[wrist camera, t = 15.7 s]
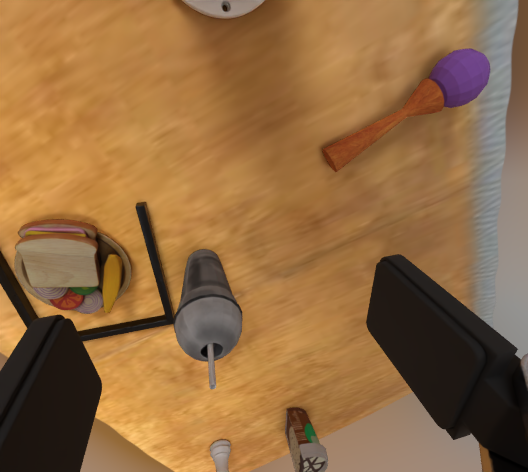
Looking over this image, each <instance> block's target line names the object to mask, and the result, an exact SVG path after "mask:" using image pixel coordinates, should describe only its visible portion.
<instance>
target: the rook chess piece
mask: <svg viewBox="0 0 528 472" xmlns="http://www.w3.org/2000/svg"><path fill="white" fill-rule="evenodd" d="M230 445H231V444H230V443H229V442H228V441H227V440H218V441H216V442H214V443H213V444H212V445H211V447H210V451H211V454H210V455H211V457H212V458H213V461H214V462H215V466H216V472H229V470H228V458H229V454H230V451H231V448H230Z"/></svg>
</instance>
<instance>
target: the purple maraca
mask: <svg viewBox="0 0 528 472" xmlns="http://www.w3.org/2000/svg"><path fill="white" fill-rule="evenodd" d="M489 74H490V63H489V61H488V59H487V57H486V56H485V55H484V54H483V53H480V52H478V51H476V50H474V49H461V50H456V51H453V52H452V53H450V54H449V55H447V56H446V57H444V58H443V59H441V60H440V61H439V62H438V63H437V64H436V66H435V67H434V68H433V70H432V72H431V74H430V76H429V79H424V80H422V81H421V83H420V84H419V86H418V87H417V88H416V90H415V91H414V93H413V94H412V96H411V97H410V99H409V100H408V101H407V103H406V104H405V106H404V107H403V109H401V110H399V111H397V112H395V113H393V114H392V115H390V116H388V117H386V118H384V119H382V120H380V121H378V122H376V123H374V124H372V125H370V126H368V127H366V128H364V129H362V130H360V131H358V132H356V133H354V134H352V135H350V136H348V137H346V138H344V139H342V140H340V141H338V142H336V143H334V144H332V145H330V146H328V147H326V148H324V149H323V153H324V156H325V158H326V160H327V162H328V163H329V165H330V166H331V168H332V169H333V170H334V171H335V172H337V171H338V170H340V169H341V168H342V167H344V166H345V165H346V164H347V163H349V162H350V161H351V160H352V159H354V158H355V157H356V156H358V155H359V154H360V153H361V152H363V151H364V150H365V149H366V148H368V147H369V146H370V145H372V144H373V143H374V142H375V141H377V140H378V139H379V138H381V137H382V136H383V135H384V134H386V133H387V132H388V131H389V130H391V129H392V128H393V127H395V126H396V125H397V124H398V123H400V122H401V121H402V120H403V119H405V118H406V117H410V116H417V115H423V114H430V113H436V112H440V111H441V110H442V109H443V107H449V108H453V107H458V106H462V105H465V104H467V103H469V102H470V101H472V100H473V99H475V98H476V97H477V96H478V95H479V94H480V92H481V91H482V90H483V88H484V87H485V86H486V85H487V83H488V79H489Z"/></svg>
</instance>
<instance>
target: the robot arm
mask: <svg viewBox="0 0 528 472" xmlns="http://www.w3.org/2000/svg"><path fill="white" fill-rule="evenodd" d="M182 1H183V2H184V3H185V4H187V5H188V6H189V7H191V8H192V9H194V10H196V11H198V12H200V13H202V14H204V15H207V16H210V17H214V18H223V19H230V18H235V17H241V16H243V15H245V14H247V13H249V12H252V11H253V10H254V9H255V8H257V7H258V6H259V5H261V4H262V3H263V2H264V1H265V0H182ZM224 5H225V6H226V7H227V11H224V10H223V9H222V6H224ZM366 323H367V328H368V330H369V332H370V333H371V335H372V336H373V337H374V339H375V340H376V341H377V343H378V344H379V346H380V347H381V348H382V350H383V351H384V352H385V354H386V355H387V357H388V358H389V359H390V361H391V362H392V363H393V365H394V366H395V368H396V369H397V370H398V372H399V373H400V374H401V376H402V377H403V379H404V380H405V381H406V383H407V384H408V385H409V387H410V388H411V390H412V391H413V392H414V394H415V395H416V396H417V398H418V399H419V401H420V402H421V403H422V405H423V406H424V407H425V409H426V410H427V412H428V413H429V414H430V415H431V417H432V418H433V420H434V421H435V422H436V424H437V425H438V426H439V427H441V428H442V429H446V431H447V432H448V433H449V435H450V436H451V437H452V439H453V440H455V439H458V438H461V437H464V436H467V435H470V434H471V433H472V434H473V436H474V437H475V438H476V439H477V441H478V442H479V447H480V456H481V464H482V472H528V354H526V355H524V356H523V358H522V359H520V358H518V357H517V356H516V355H515V353H516V352H517V350H518V349H517V348H516V347H515V346H514V345H512V344H511V343H510V342H509V341H508V340H506V339H505V338H504V337H503V336H501V335H500V334H499V333H498V332H496V331H495V330H494V329H493V328H491V327H490V326H489V325H488V324H487V323H485V322H484V321H483V320H482V319H480V318H479V317H478V316H477V315H475V314H474V313H473V312H472V311H470V310H469V309H468V308H467V307H466V306H464V305H463V304H462V303H461V302H459V301H458V300H457V299H456V298H454V297H453V296H452V295H451V294H450V293H448V292H447V291H446V290H445V289H443V288H442V287H441V286H440V285H438V284H437V283H436V282H435V281H433V280H432V279H431V278H430V277H429V276H427V275H426V274H425V273H424V272H422V271H421V270H420V269H419V268H417V267H416V266H415V265H414V264H412V263H411V262H410V261H409V260H408V259H406V258H405V257H404V256H402V255H399V254H398V255H392V256H387V257H383V258H382V259H381V260H380V262H379V263H377V265H376V270H375V276H374V281H373V287H372V293H371V298H370V304H369V309H368V315H367V321H366ZM101 391H102V383H101V379H100V377H99V375H98V373H97V371H96V369H95V367H94V365H93V363H92V361H91V359H90V357H89V355H88V353H87V350H86V348H85V346H84V344H83V342H82V340H81V338H80V336H79V334H78V332H77V330H76V328H75V326H74V324H73V322H72V321H71V319H65V318H64V317H63V316H62V315H54V316H49V317H43V318H37V319H35V320H33V322H32V323H31V324H30V326H29V327H28V329H27V330H26V332H25V333H24V335H23V337H22V338H21V340H20V341H19V343H18V344H17V346H16V348H15V349H14V351H13V352H12V354H11V355H10V357H9V359H8V360H7V362H6V363H5V365H4V366H3V368H2V370H1V371H0V472H80V469H81V466H82V462H83V458H84V455H85V451H86V447H87V444H88V440H89V436H90V433H91V429H92V425H93V422H94V418H95V414H96V411H97V407H98V403H99V400H100V396H101Z"/></svg>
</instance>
